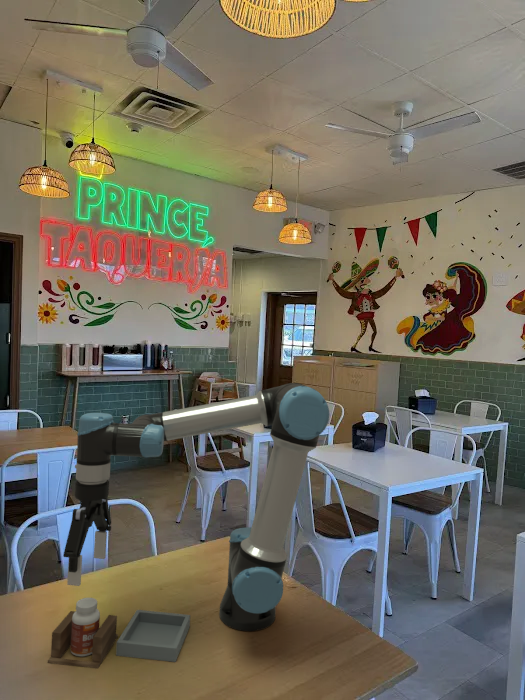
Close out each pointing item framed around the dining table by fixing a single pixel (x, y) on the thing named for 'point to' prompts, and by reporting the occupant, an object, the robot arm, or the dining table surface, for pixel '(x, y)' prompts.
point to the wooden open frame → (100, 642)
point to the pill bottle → (84, 626)
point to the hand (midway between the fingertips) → (87, 570)
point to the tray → (154, 635)
